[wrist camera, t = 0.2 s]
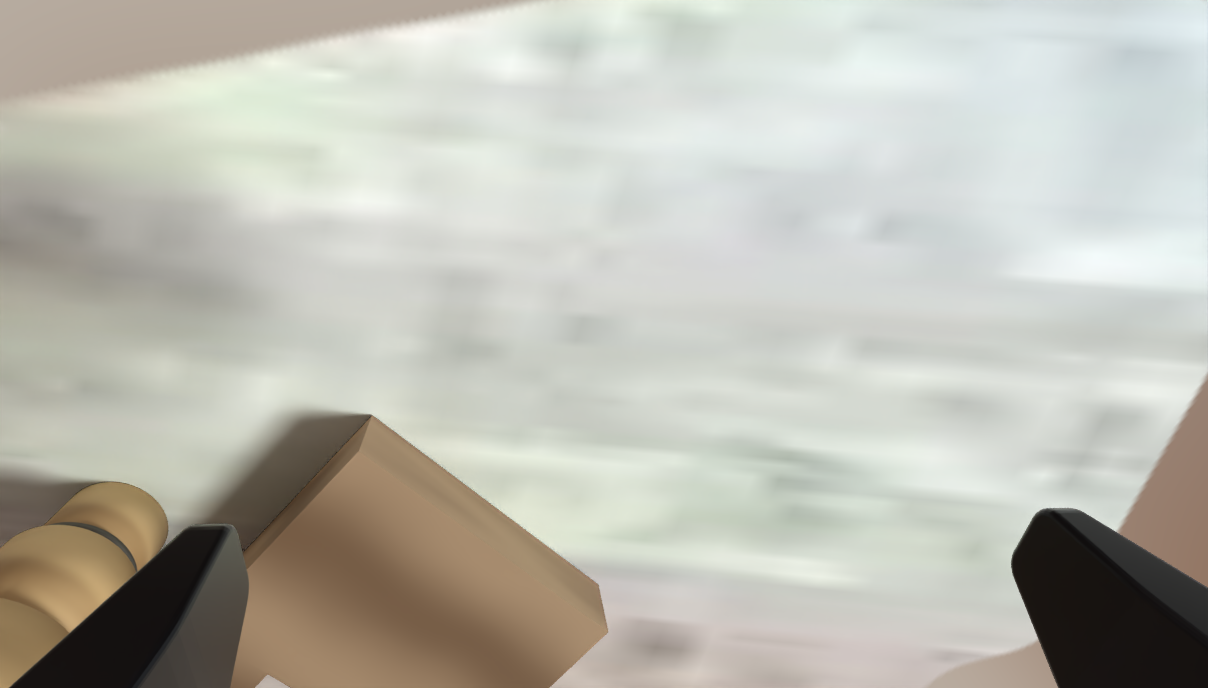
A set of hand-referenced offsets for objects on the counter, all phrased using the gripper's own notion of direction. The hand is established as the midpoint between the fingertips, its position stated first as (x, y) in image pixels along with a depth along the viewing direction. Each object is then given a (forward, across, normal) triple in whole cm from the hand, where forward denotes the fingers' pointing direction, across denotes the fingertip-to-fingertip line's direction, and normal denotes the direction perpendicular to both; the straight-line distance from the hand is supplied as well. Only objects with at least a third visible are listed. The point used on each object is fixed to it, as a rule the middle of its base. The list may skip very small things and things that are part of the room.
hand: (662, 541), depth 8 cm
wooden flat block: (+11, +8, +20) cm, 24 cm away
